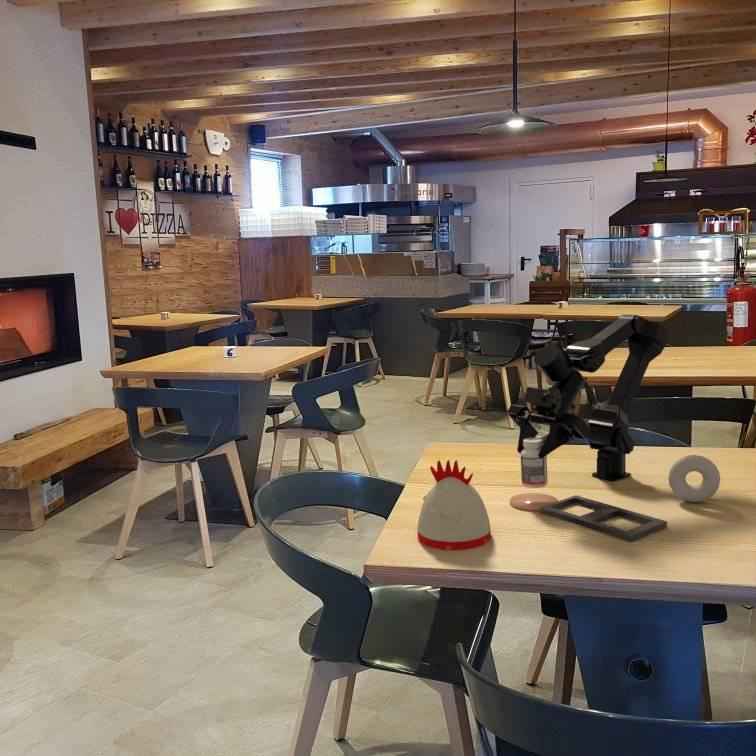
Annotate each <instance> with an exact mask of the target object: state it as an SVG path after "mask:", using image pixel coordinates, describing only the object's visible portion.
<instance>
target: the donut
mask: <svg viewBox="0 0 756 756" xmlns="http://www.w3.org/2000/svg"><path fill="white" fill-rule="evenodd" d="M691 472H697V473H699V474H700V475H701V476H702V481H701V482H700V484H698V485H691V484H688V482H687V480H686V477H687V476H688V474H689V473H691ZM667 477H668V478H667V479H668V483H669V484H668V485H669V487H670V488H671V491H672V493H674V494H675V495H676V496H677V497H678V498H679V499H681V500H683V501H685V502H689V503H693V504H694V503H703V502H705V501H707V500H710V499H711V498H713V496H714V495H716V493H717V491H718V490H719V488H720V484H721V476H720V471H719V469H718V467H717V465H716V464H715V463H714V462H713V461H711V460H710V459H709V458H707V457H705V456H703V455H699V454H698V455H697V454H691V455H690V454H689V455H685V456H683V457H680V458H679V459H677V460H676V461H675V462H673V464H672V466H671V467H670V470H669V472H668V476H667Z"/></svg>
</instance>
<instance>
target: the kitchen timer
mask: <svg viewBox="0 0 756 756" xmlns="http://www.w3.org/2000/svg"><path fill="white" fill-rule="evenodd" d="M436 462H437V463H436V469H435V468H434V467H433V466H432V465H431V466H430V467H429V469H430V472H431V474H432V476H433V478H434V480H435V482H436V483H435V484H434V485H433V486H432V487H431V489H430V490H429V491H428V492H427V494H426V495H425V496H424V497H423V498H422V500H423V503H422V506H421V509H420V513H419V517H418V521H417V539H419V540H418V541H419V542H420V543H421V544H422V545H424V546H426V547H429V548H432V549H436V548H437V549H438V550H441V551H442V550H443V551H461V550H471V549H475V548H477V547H478V548H479V547H481V546H484V545H485V544H488V543H489V541H490V540H491V538H492V534H491V533H492V531H491V524H490V523H491V522H490V518H489V514H488V512H487V509H486V506H485V503H484V500H483V498H482V497H481V495H480V494H479V492H478V491H477V490H476V488H475V487H474V486H473V485H472V484H471V480H472V479H473V477H474V476H473V475H474V472H471V474H470V475H469V476H468V478H465V471H466V470H467V469H466V468H467V467H466V466H464V467H462V468H461V471H460V470H459V464H458V460H457V459H456V460H455V461H454V463H453V466H452V467H453V468H452V467H451V462H450V459H448V460H447V461H446V463H445V470H444V469H443V466H442V462H441V460H440V459H439V460H437V461H436ZM437 549H436V550H437Z"/></svg>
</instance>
